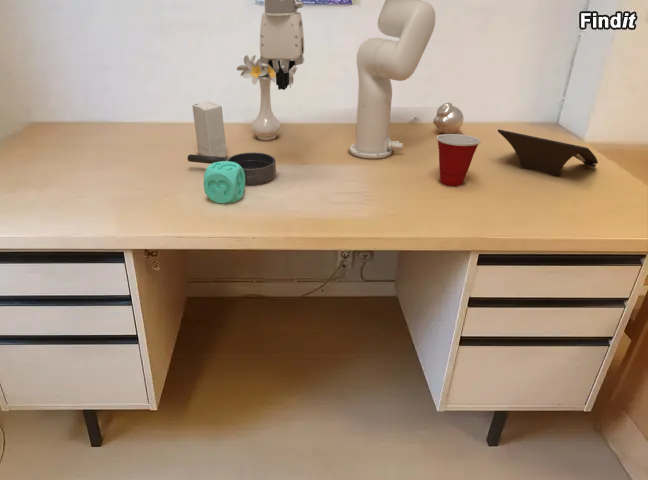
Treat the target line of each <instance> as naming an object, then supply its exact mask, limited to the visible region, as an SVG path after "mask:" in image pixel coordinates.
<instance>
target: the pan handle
mask: <svg viewBox="0 0 648 480" xmlns="http://www.w3.org/2000/svg"><path fill="white" fill-rule="evenodd" d="M186 159H187V161H188V162H190V163H198V164H209V165H210V164H212V163H215V162H220V161H226V160H227V159H228V157H213V156H203V155H200V154H188V155H187V158H186Z"/></svg>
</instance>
